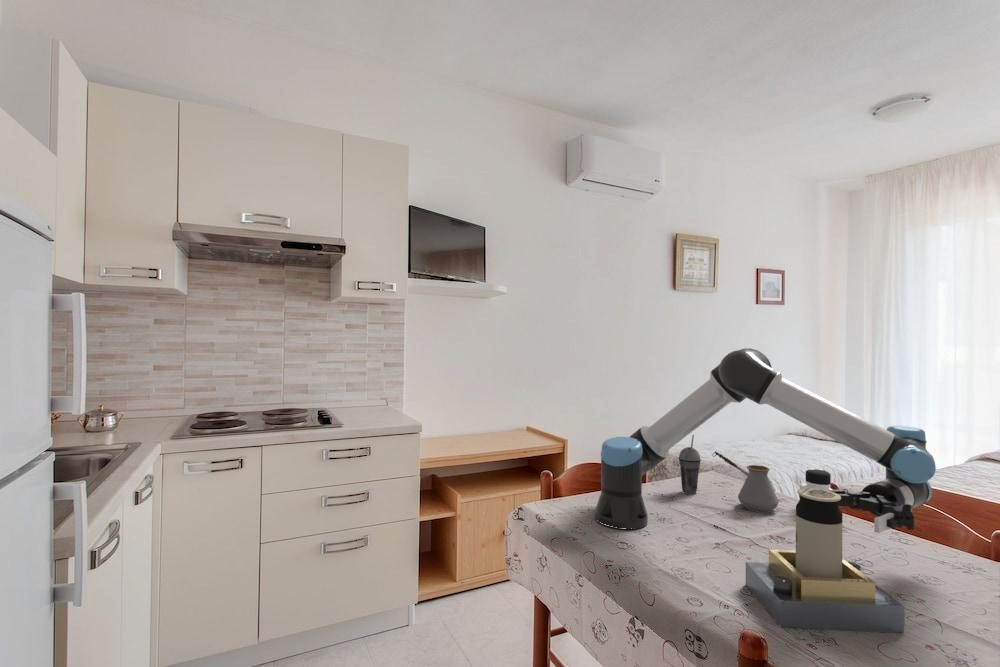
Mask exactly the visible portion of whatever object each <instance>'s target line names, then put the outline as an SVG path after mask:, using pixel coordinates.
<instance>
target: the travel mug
mask: <svg viewBox="0 0 1000 667" xmlns="http://www.w3.org/2000/svg"><path fill="white" fill-rule="evenodd" d="M796 492H797V494H798V496H799V500H798V502H797V503H796V505H795V550H796V570H797V571H799V572H800V573H801V574H802V575H803V576H804V577H817V578H842V558H843V512H842V510H841V508H840V506H838V505H839V501H840V500H841V496H840V495H838V494H836V493H834V492H831V491H827V490H823V489H816V488H802V489H800V488H799V489H797V491H796Z"/></svg>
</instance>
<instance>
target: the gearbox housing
mask: <svg viewBox="0 0 1000 667" xmlns="http://www.w3.org/2000/svg"><path fill="white" fill-rule="evenodd" d="M861 568H862V567H861V565H860V564H859V563H856V562H854V561H847V560H845V559H844V558H843V557H842V578H817V577H804V576H803V575H802V574H801V573H800V572H799V571H797V570H796V549H793V550H792V549H771V548H770V549H769V548H768V562H758V561H756V562H754V561H751V562H750V561H745V587H747V588H748V589H749V591H750V590H751V591H750V592H751V593H752V594H753V596H756V597H757V598H756V597H755V598H756V599H757V601H758V602H759V603H760V602H761V603H760V604H761V605H762V607H763V608H764V607H765V608H766V609H765V608H764V609H765V611H767V612H768V614H769V613H770V614H771V615H770V614H769V615H770V616H771V617H772V619H775V620H776V621H775V620H774V621H775V622H776V623H777V625H780V626H781V627H780V626H779V627H780V628H785V627H797V628H796V629H811V630H831V631H832V630H833V631H834V630H835V631H850V630H854V631H853V632H855V631H856V632H872V631H881V632H880V633H894V632H904V633H905V605H903V603H901V602H899V601H898V600H897V599H896V598H894V597H893V596H891V595H890V594H889V593H887V592H886V591H885V590H883V589H882V588H881V587H880V586H878V585H877V584H876V582H875V581H874V580H872V579H871V578H869V577H868V576H867V575H866V574H864V573H863V572H862V571H861V570H862V569H861ZM782 626H783V627H782Z"/></svg>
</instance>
